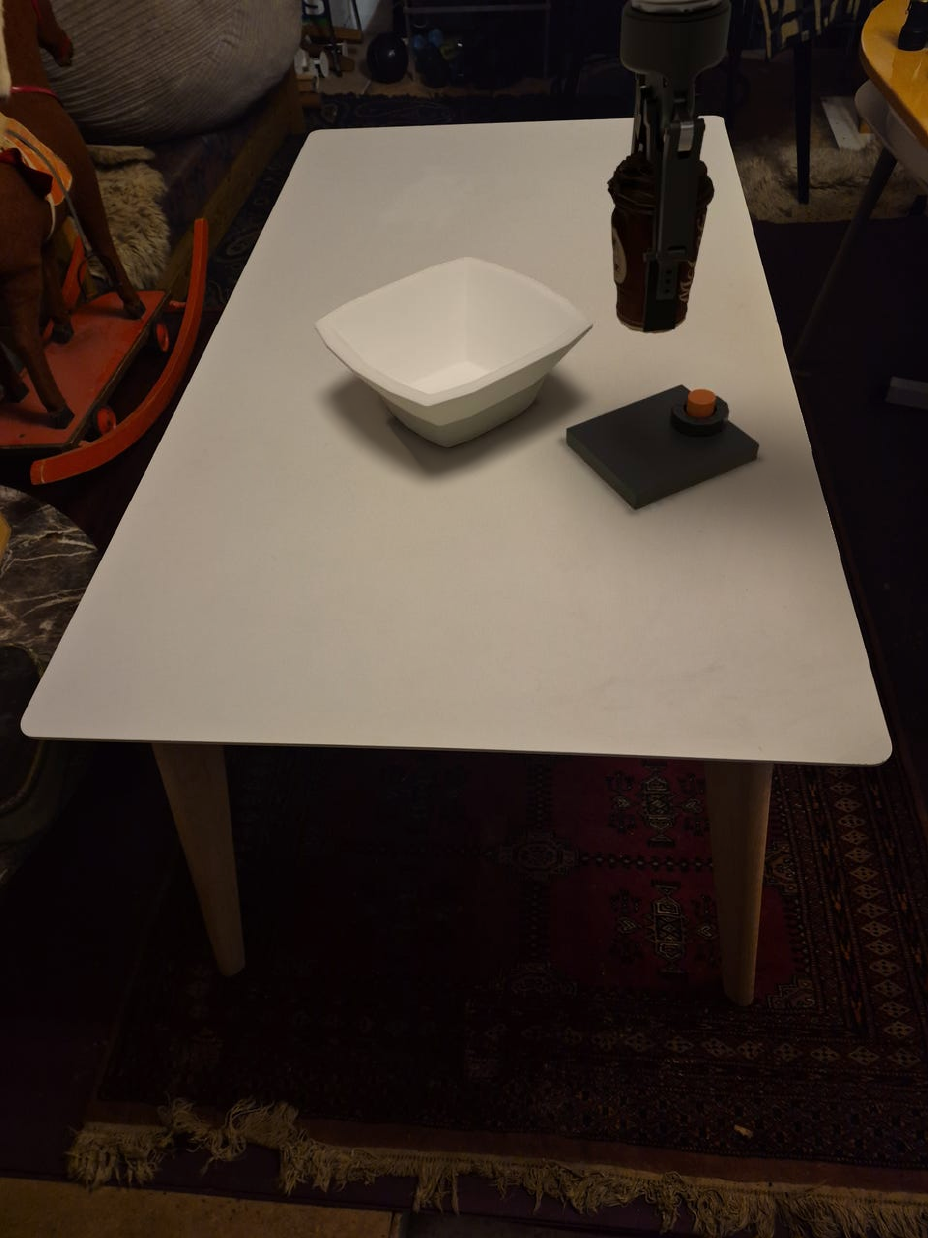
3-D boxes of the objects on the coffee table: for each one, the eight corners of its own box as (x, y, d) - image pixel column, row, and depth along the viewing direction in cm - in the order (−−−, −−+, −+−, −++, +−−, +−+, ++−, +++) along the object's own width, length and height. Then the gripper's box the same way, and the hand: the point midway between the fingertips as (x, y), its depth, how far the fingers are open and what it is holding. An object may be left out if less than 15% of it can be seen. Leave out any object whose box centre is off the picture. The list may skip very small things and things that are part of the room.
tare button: (702, 399, 91) (704, 385, 89) (719, 412, 89) (721, 398, 88) (680, 408, 90) (682, 394, 89) (697, 421, 88) (699, 407, 87)
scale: (681, 397, 97) (684, 370, 94) (757, 458, 89) (764, 430, 86) (565, 442, 93) (566, 415, 90) (634, 509, 85) (637, 482, 82)
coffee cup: (588, 332, 76) (593, 180, 67) (614, 287, 81) (622, 140, 72) (686, 346, 74) (706, 189, 64) (706, 298, 79) (727, 146, 69)
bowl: (610, 402, 97) (614, 319, 89) (431, 501, 88) (419, 417, 80) (479, 324, 111) (473, 246, 103) (313, 402, 102) (293, 323, 94)
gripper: (771, 33, 53) (718, 362, 70) (699, -43, 66) (669, 248, 83) (649, 46, 53) (626, 370, 70) (602, -32, 67) (592, 255, 84)
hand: (649, 303), depth 77 cm, fingers closed on coffee cup, 8 cm apart
